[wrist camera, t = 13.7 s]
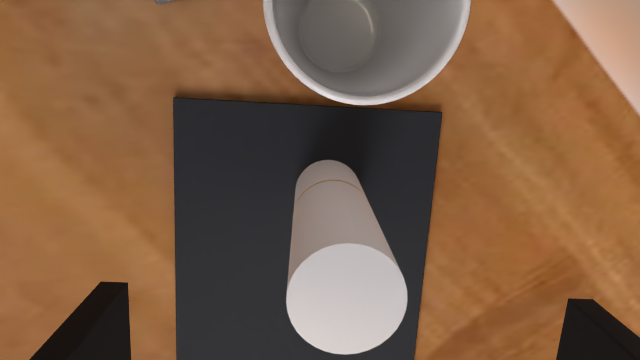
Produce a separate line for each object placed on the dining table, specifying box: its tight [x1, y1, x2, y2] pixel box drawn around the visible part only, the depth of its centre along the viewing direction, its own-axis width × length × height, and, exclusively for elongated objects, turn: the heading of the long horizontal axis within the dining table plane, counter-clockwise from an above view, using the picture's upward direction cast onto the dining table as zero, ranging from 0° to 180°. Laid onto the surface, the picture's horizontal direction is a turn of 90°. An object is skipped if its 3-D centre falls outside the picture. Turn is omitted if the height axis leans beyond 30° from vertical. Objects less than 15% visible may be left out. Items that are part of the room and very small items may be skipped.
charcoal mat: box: [173, 97, 442, 360], centre depth 33 cm, size 20×17×1 cm
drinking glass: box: [263, 0, 471, 105], centre depth 22 cm, size 7×7×15 cm
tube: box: [286, 160, 408, 355], centre depth 24 cm, size 4×4×15 cm
